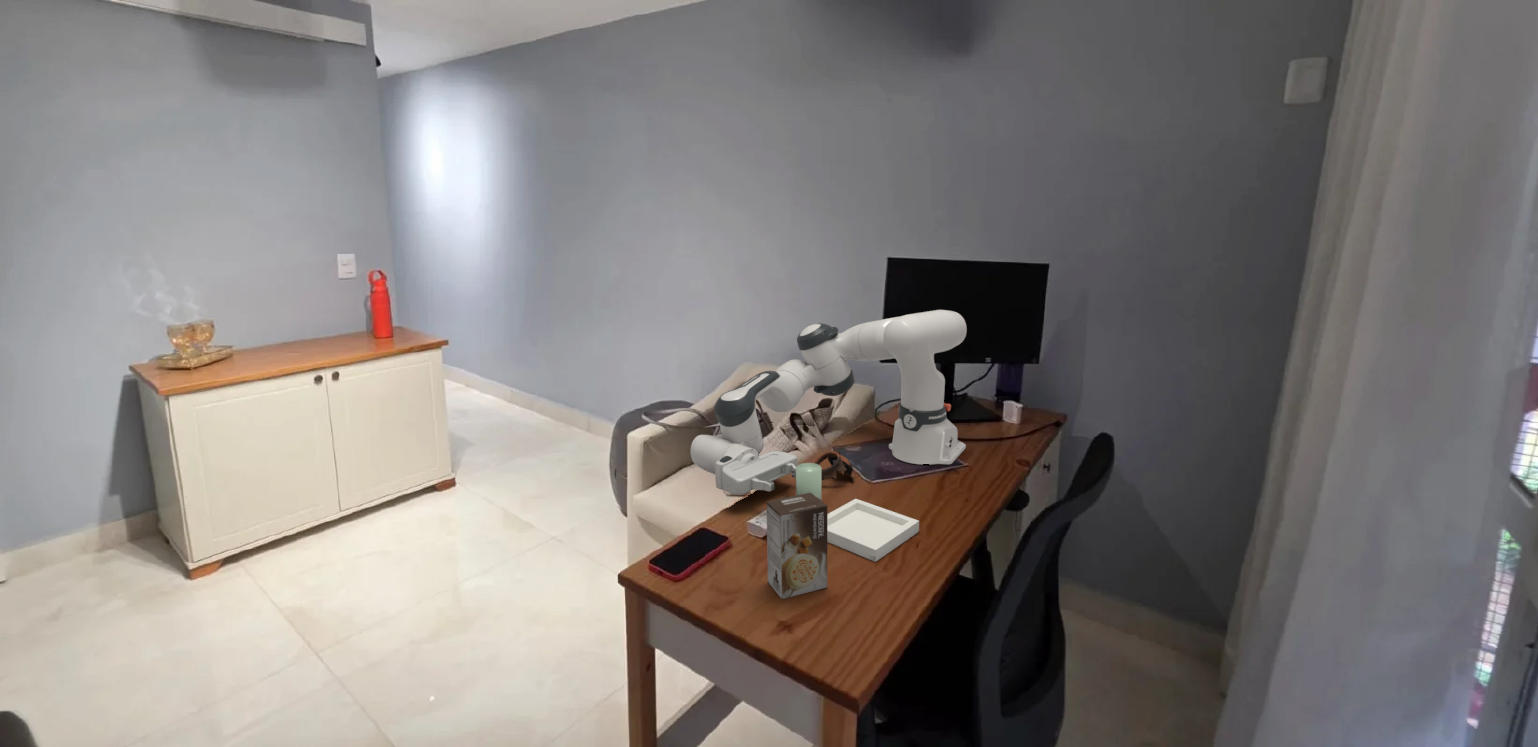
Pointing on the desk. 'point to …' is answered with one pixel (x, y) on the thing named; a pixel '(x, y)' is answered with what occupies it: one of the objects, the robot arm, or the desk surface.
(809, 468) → the green cylinder
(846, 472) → the pottery mug
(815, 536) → the coffee box
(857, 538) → the tray
